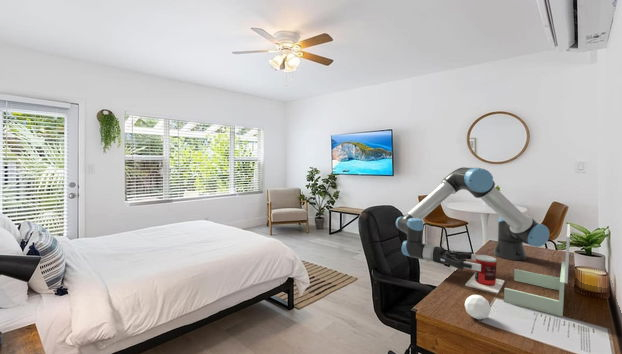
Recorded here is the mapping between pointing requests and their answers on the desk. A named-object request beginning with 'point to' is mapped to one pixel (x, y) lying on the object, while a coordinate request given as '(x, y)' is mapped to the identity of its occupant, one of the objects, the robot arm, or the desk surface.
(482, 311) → the ball
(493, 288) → the tile pad
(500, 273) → the desk surface
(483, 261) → the canned food
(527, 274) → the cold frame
